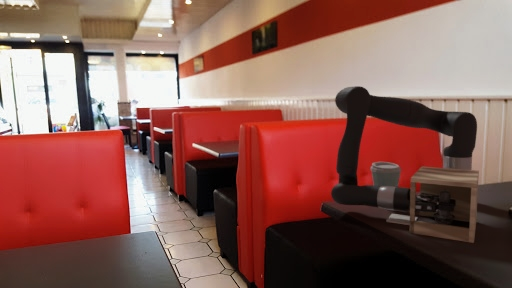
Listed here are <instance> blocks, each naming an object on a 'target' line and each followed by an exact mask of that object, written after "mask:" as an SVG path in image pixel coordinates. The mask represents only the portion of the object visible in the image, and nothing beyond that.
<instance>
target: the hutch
mask: <svg viewBox="0 0 512 288" xmlns="http://www.w3.org/2000/svg"><path fill="white" fill-rule="evenodd" d="M479 173H480V171H479V170H474V169H472V170H463V169H448V168H443V167H432V166H421V167H419V168H418V169H417V171H416V172H414V174H413V175H412V176H411V177H410V189H411V191H410V211H409V216H410V225H409V230H408V231H409V232H408V233H410V234H414V235H422V236H430V237H434V238H442V239H447V240H454V241H461V242H465V243H466V242H467V243H472V244H474V243H475V236H476V230H477V229H476V227H477V226H476V225H477V214H478V212H477V211H478V196H479V194H478V193H479V176H480V175H479ZM417 183H419V186H420V187H419V194H421V193H428V194H434V195H439V194H440V192H441V191H444V189H446V191H447V192H449V193H450V199H455V200H456V206H455V207H454V211H453V212H450V213H451V214H452V215H454V216H455V218H454V221H457V222H458V221H459V222H464V223H465V222H466V223H469V227H464V226H457V225H451V224H449V225H444V224H437V222H429V221H422V220H421V221H420V220H415V217H416V211H415V198H416V195H417V194H416V193H417V192H416V191H417ZM434 201H436V199H434ZM427 208H428V207H427ZM437 212H438V211H436V212H423V211H419V216H422V217H429V218H434V216H433V214H434V213H437Z"/></svg>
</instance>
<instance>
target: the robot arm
mask: <svg viewBox="0 0 512 288" xmlns="http://www.w3.org/2000/svg"><path fill="white" fill-rule="evenodd" d="M334 99H335V100H334V102H335V105H336V107H337V110H339V111H340V112H342V113H344V114H346V125H345V129H344V133H343V135H342V138H341V141H340V144H339V145H338V146H339V147H338V149H337V150H338V151H337V155H336V157H337V158H336V167H335V169H336V173H337V174H338V183H337V184H335V185H334V186H333V187H332V189H331V191H330V196H331V198H332V200H333V201H334V202H335V203H336V204H339V205H342V206H364V207H365V206H367V207H371V208H372V207H373V208H378V209H383V210H389V211H395V212H397V211H398V212H404V213H410V191H411V187H402V186H400V187H399V186H398V187H393V186H375V185H374V184H372V185H371V184H366V185H365V184H364V185H359V181H358V169H359V168H358V166H359V158H360V157H359V156H360V148H361V142H362V137H363V133H364V129H365V125H366V120H367V117H371V118H375V119H377V120H381V121H384V122H387V123H391V124H395V125H399V126H402V127H408V128H414V129H427V130H430V131H431V130H432V131H434V132H436V133H439V134H442V135H445V136H448V137H452V140H451V144H450V145H448V146H445V147H444V148H443V151H442V152H443V153H442V154H443V157H442V168H448V169H463V170H473V166H472V164H473V152H474V150H475V148H476V143H477V134H478V121H477V118H476V117H475V115H474V114H473V113H471V112H467V111H445V110H437V109H432V108H430V107H428V106H427V105H425V104H423V103H422V102H419V101H415V100H412V99H407V98H401V97H391V96H378V95H372V94H370V92H369V90H368V89H367V88H365V87H364V86H359V85H358V86H347V87H344V88H343V89H341V90H339V92H337V94H336V96H335V98H334ZM434 199H436V201H434ZM455 206H456V200H455V199H450V203H442V202H440V204H439V195H434V194H428V193H421V194H420V193H417V194H416V198H415V212H420V211H423V212H436V211H439V210H442V211H450V212H453V211H454V207H455ZM427 207H428V208H427Z"/></svg>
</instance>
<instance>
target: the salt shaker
mask: <svg viewBox="0 0 512 288" xmlns="http://www.w3.org/2000/svg"><path fill="white" fill-rule="evenodd" d="M440 202H442V203H450V193H449V192H447V191H446V189H444V191H441V192H440V194H439V204H440ZM433 216H434V217H433V219H434V220H435V223H437V224H444V225H451V224H453V222H454V221H455V220H454V218H455V216H454V215H452V214H451V213H450V211H442V210H439V211H438V212H437V213H434V214H433Z"/></svg>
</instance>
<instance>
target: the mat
mask: <svg viewBox="0 0 512 288" xmlns="http://www.w3.org/2000/svg"><path fill="white" fill-rule="evenodd" d="M418 217H419V216H415V220H416V221H418ZM386 223H393V224H398V225H400V224H401V225H406V226H410V215H405V214H397V213H391V214H390V215H389V217H388V218H387V219H386Z"/></svg>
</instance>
